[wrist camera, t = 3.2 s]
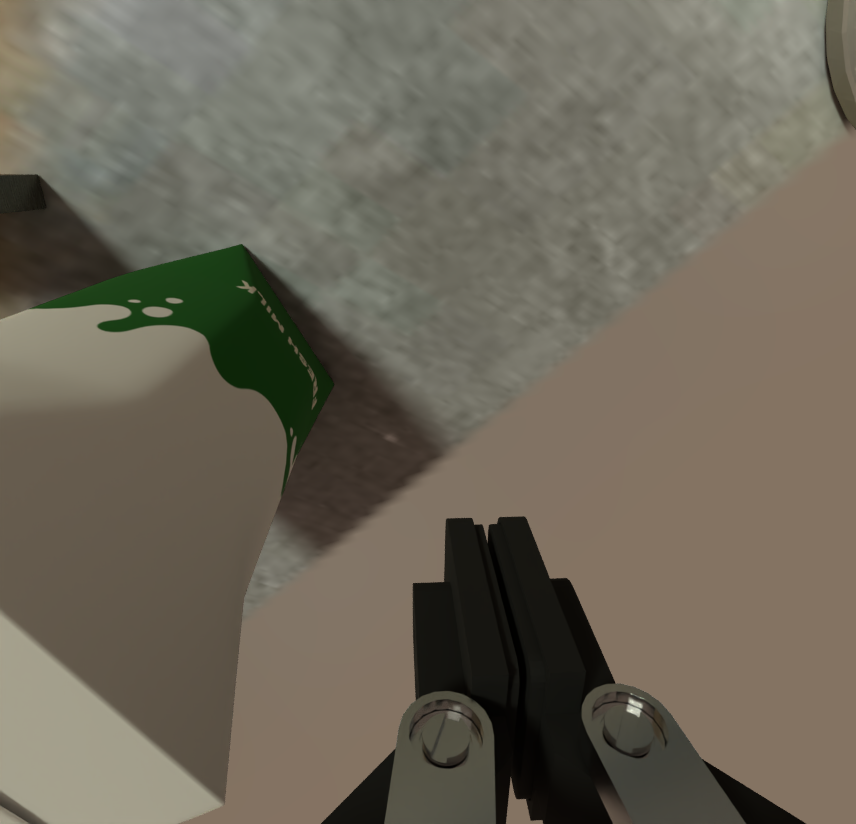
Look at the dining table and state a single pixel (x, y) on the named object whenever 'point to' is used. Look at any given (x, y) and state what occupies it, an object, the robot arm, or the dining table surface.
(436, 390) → the dining table surface
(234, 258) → the soya milk
